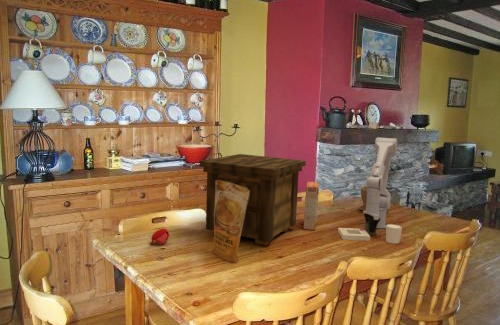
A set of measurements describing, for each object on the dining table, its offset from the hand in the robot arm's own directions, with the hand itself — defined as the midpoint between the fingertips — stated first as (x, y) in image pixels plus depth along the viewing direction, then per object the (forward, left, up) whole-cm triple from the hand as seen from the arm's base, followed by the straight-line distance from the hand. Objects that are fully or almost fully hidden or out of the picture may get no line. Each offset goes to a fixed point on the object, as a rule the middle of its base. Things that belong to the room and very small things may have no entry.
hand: (370, 230), depth 186 cm
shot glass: (+10, +7, -2) cm, 12 cm away
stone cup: (-41, +12, -2) cm, 43 cm away
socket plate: (+5, -9, -1) cm, 10 cm away
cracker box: (-8, -27, -2) cm, 28 cm away
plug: (0, 0, -1) cm, 1 cm away
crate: (+5, -55, -2) cm, 55 cm away
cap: (+26, -92, -2) cm, 96 cm away
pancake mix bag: (+36, -64, -2) cm, 73 cm away
